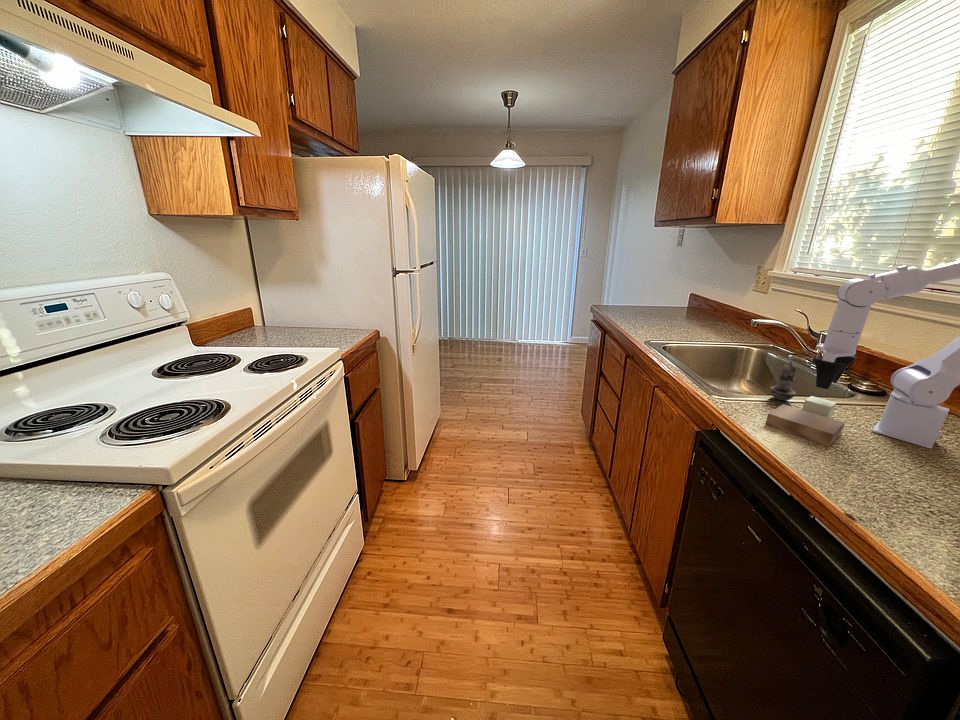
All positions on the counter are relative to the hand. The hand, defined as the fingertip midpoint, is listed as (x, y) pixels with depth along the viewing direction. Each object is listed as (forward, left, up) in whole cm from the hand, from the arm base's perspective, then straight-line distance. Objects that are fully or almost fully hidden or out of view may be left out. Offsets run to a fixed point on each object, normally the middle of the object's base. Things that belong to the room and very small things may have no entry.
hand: (826, 384), depth 93 cm
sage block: (0, 0, -10) cm, 10 cm away
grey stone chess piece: (+9, -5, -10) cm, 14 cm away
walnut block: (0, +10, -9) cm, 14 cm away
